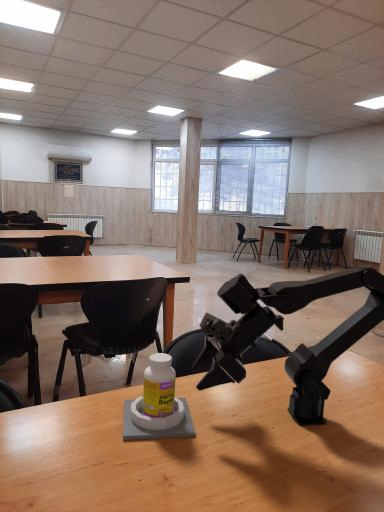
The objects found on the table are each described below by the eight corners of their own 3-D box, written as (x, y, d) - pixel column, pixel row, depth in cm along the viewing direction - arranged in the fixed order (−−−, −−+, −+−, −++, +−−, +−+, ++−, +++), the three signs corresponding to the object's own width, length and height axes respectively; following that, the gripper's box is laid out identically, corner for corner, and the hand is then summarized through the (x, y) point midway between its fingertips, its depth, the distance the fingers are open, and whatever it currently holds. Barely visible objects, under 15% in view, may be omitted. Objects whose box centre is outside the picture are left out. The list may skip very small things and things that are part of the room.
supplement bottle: (157, 427, 76) (159, 366, 75) (135, 414, 81) (137, 356, 79) (180, 415, 81) (182, 357, 80) (159, 403, 86) (161, 348, 84)
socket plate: (185, 400, 89) (185, 389, 89) (194, 436, 75) (195, 422, 75) (124, 403, 87) (124, 391, 86) (122, 439, 73) (123, 426, 73)
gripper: (216, 292, 88) (167, 337, 89) (232, 314, 70) (170, 371, 70) (247, 325, 90) (199, 369, 90) (271, 355, 72) (211, 411, 72)
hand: (195, 378), depth 81 cm, fingers open, 9 cm apart
